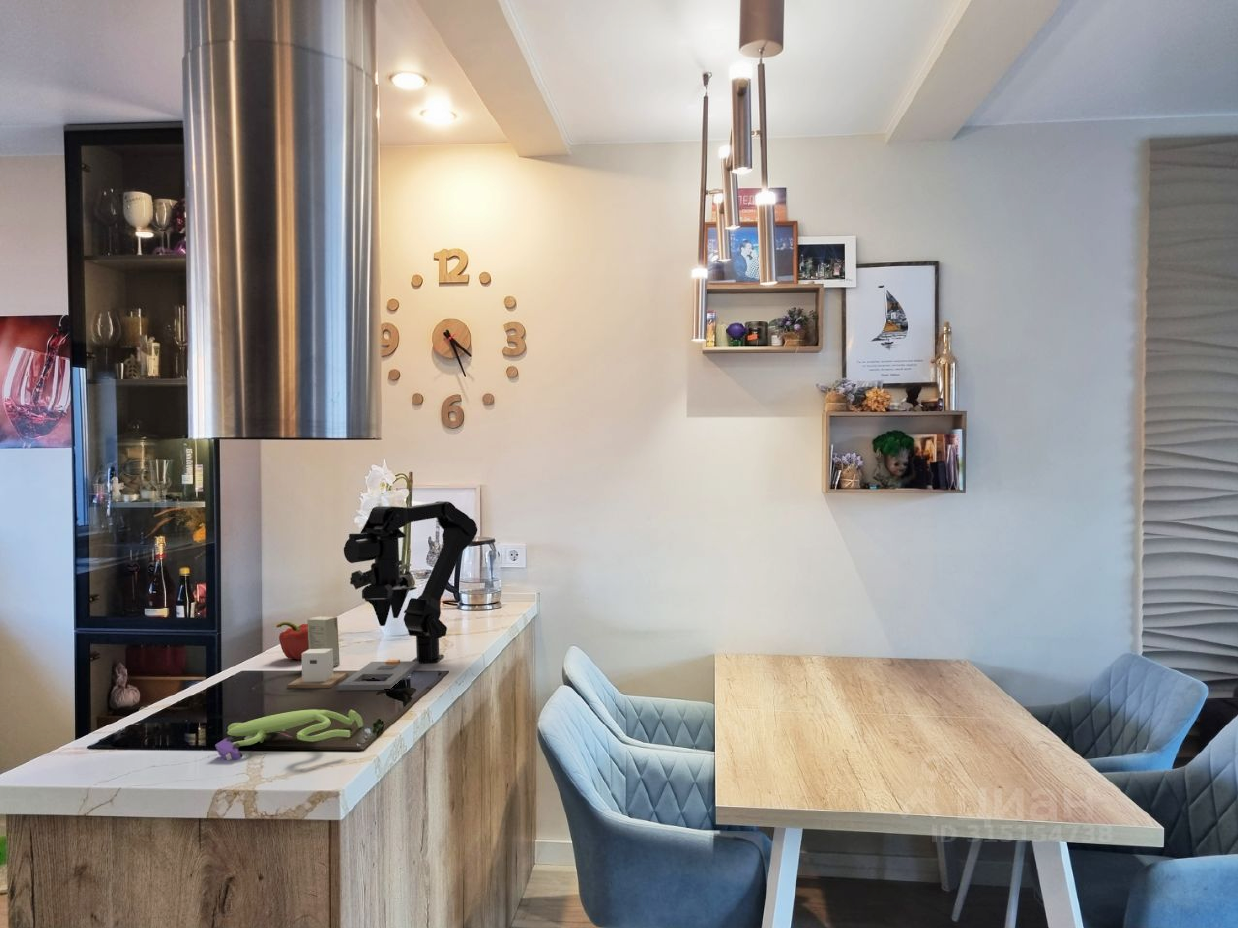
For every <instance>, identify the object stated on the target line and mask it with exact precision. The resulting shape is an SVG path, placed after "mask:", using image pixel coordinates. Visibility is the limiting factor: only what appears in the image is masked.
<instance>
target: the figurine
mask: <svg viewBox="0 0 1238 928" xmlns="http://www.w3.org/2000/svg"><path fill="white" fill-rule="evenodd" d="M347 716H348V717H347ZM347 716H345V715H344V714H340V713H338V712H335V711H331V710H328V709H301V710H293V711H288V712H282V713H277V714H272V715H267V716H264V717H260V718H255V719H252V720H248V721H246V722H234V723H231V724H229V725H228V727H227V730H228V731H227V732H226V733H227V735H228V736H227V737H226V738H224V739H222V740H221V741H219V742H217V743H216V744H215V745H214V746H215V749H216V751H217V752H218V756H220V757H221V758H222V759H224V760H225V761H230V760H240V759H242V757H243V754H242V752H240V751H239V749H240V747H244V746H251V745H254V744H257V743H258V742H259V743H260V744H262V743H264V741H265V739H266V737H267V734H270V733H277V734H280V735H283V736H285V737H288V738H292V736H291V735H290V734H287V733H284V732H285V731H286V730H288V729H292V728H295V727H300V726H302V725H306V724H309V723H312V722H314V721H317V722H320V723H315V724H312V725H309V726H307V727H305V728H303V729H301V730H298V732H297V733H296V738H297V740H299V741H303V742H313V743H314V742H318V741H323V740H326V739H329V738H335V737H341V738H342V737H343V738H350V736H351V730H349V729H331V730H327V731H324V732H321V733H318V734H313V735H309V734H312V733H314V732H317V731H321V730H325V729H326V728H329V727H330V726H331V724H332V723H331V720H330V719H334V720H336V721H339V722H341V723H343V724H345V725H349V726H350V725H352V724H353V723H354V722H356V723H357V726H358V729H360V728H362V727H363V726H364V722H363V721H364V720H363V718H362V716H361V715H360V714H359V713H358V712H356V711H355V710H353V709H350V710H349V711H348V715H347ZM234 737H244V738H243V739H244V740H238V741H234ZM233 741H234V742H233Z"/></svg>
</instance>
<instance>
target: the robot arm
mask: <svg viewBox="0 0 1238 928" xmlns="http://www.w3.org/2000/svg"><path fill="white" fill-rule="evenodd" d="M431 519H437V523H438V526H440V528H441V529H442V530H443V532H442V534H441V535H442V544H443V545H442V548H441V550H440V552H439V556H438V557H437V560H436V561H435V564H434V566H433V567H432V571H431V573H430V575H429V577H428V579H427V582H426V584H425V587H424V589H423V590H422V592H421V594H420V596H418V597H416V598H415V597H411V598H410V599H409V601H408V604H407V606H406V609H405V610H404V611H403V614H404V617H403V622H404V625H405V627H406V629H407V632H408V635H409V636H411V637H415V641H416V642H415V644H416V648H415V649H416V650H415V651H416V657H415V658H413V660H411V661H419V664H420V663H421V664H422V663H438V662H439V661H441V659H443V658H444V654H440V638H441V639H442V637H445V636H446V635H447V630H448V627H447V626H446V625H445V624H444V623H443V622H442V621H441V620H440V617H441V614H442V612H441V610H442V609H441V599H442V598H443V594H444V592H445V590H446V588H447V586H448V583H449V580H450V579H451V577H452V574H453V572H454V570H455V568H456V565H457V562H458V560H459V557H460V556H461V554H462V552H463V551H464V550H466V549H467V548H468V547H469V546H470V545H471V544H472V543H473V540H474V539H475V538H476V535H477V533H478V526H477V523H476V521H475V520H474V519H473V518H471V517H470V516H468V514H466V513H465V512H463V511H461V510H460V509H459V508H457V507H456V506H455V505H454V504H453V503H452V502H451V501H446V500H445V501H442V500H441V501H440V500H439V501H436V502H432V503H431V502H430V503H424V504H423V503H422V504H418V505H410V506H405V507H403V506H391V505H389V506H383V505H382V506H381V505H380V506H379V505H378V506H374V507H372V508H371V511H370V512H369V516H368V519H367V520H366V522H365V524H364V525H363V527H362V529H361V530H360V533H353V532H352V533H349V534H348V539H347V540H346V541H345V544H344V547H343V555H344V558H345V560H346V561H347V562H348V563H350V564H355V563H363V562H369V561H373V560H374V562H373V563H371V565H370V569H369V570H367V571H365V572H362V571H361V570H357V571H353V572H352V573H351V577H350V578H349V580H350V582H349V584H350V585H352V586H354V590H355V591H356V590H358V589H360V588H362V590H361V599H362V600H364V602H368V603H369V604H370V605H371V606H372V608H373V610H374V612H375V615H376V618H377V620H378V623H379V626H381V627H385V626H386V623H387V621H388V617H389V613H390V609H391V612H392V613H391V614H392V617H393V619H398V618H399V616H400V614H401V610H402V608H403V606H404V604H405V601H406V598H407V596H408V593H409V591H410V590H411V587H412V586H413V578H412V577H411V576H410V575H409V574H401V573H400V572H401V571H400V568H401V567H400V566H401V565H403V561H402V560H403V559H402V560H400V547H399V545H400V544H399V539H402V538H403V539H404V538H406V536H407V535H406V533H404V532H403V531H401V528H404V527H405V526H407V525H408V524H411V523H413V522H420V521H425V520H431ZM364 586H365V587H364ZM363 587H364V588H363Z"/></svg>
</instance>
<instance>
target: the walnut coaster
mask: <svg viewBox="0 0 1238 928" xmlns="http://www.w3.org/2000/svg"><path fill="white" fill-rule="evenodd" d="M348 675H349V674H348V672H333V677H332V678H330V679H329V680H327V681H320V682H302V675H301V676H299V677H298V678H296V679H295V680H293V681H291V682H290V683H288V684H287V685H286V689H331V688H332V687H334V686H337V685H338V684H340V683H341V681H342V682H343V681H344V680H346V679H347V678H348V677H349V676H348Z"/></svg>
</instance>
